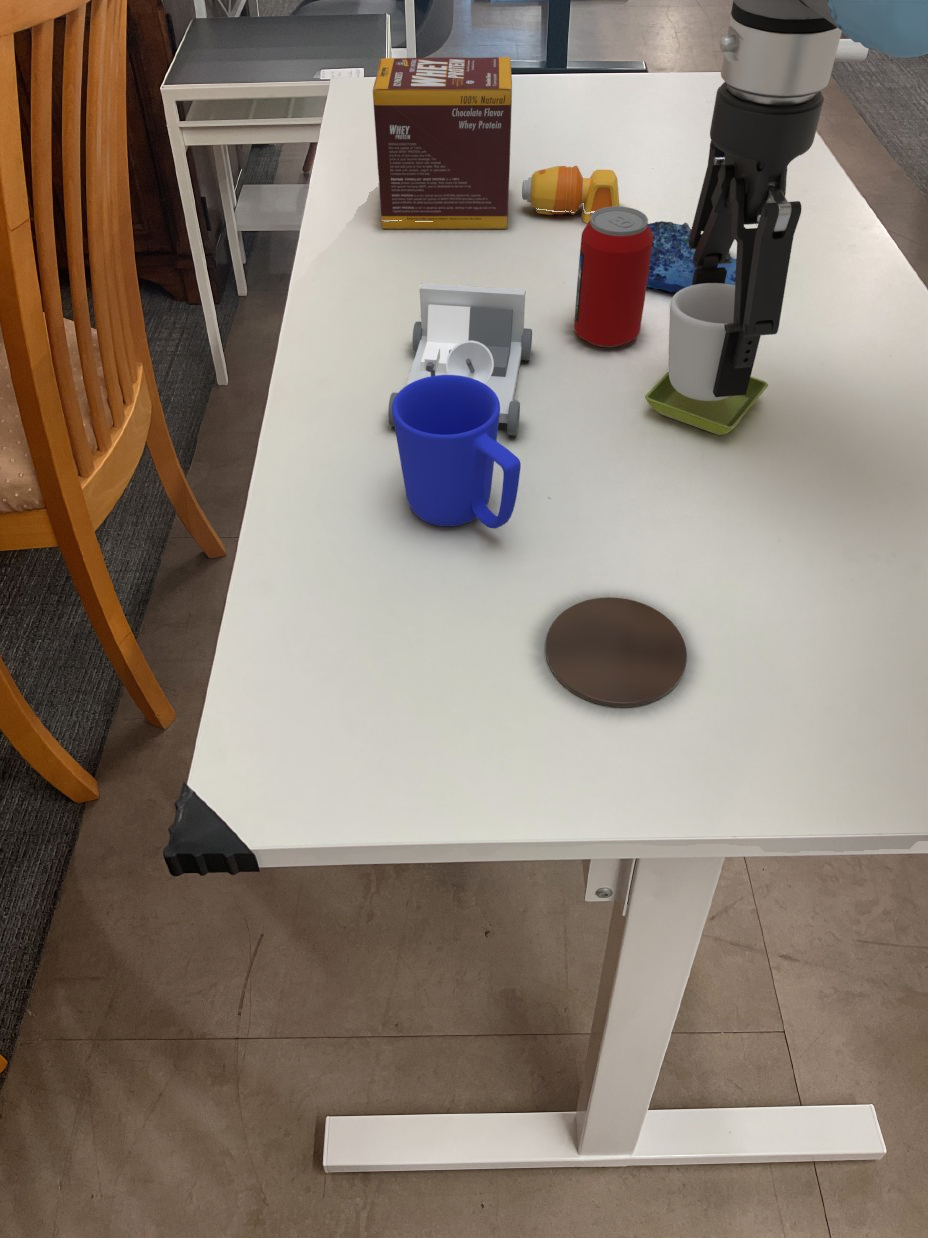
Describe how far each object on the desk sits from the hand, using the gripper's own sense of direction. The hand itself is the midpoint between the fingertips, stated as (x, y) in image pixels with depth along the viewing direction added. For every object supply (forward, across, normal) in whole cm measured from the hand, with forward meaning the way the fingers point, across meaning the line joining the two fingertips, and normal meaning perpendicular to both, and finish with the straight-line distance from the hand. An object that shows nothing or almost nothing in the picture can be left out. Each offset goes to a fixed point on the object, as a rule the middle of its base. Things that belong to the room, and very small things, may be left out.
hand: (713, 363), depth 84 cm
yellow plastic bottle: (+5, -42, -4) cm, 43 cm away
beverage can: (+5, -14, -6) cm, 16 cm away
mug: (+5, +12, -24) cm, 27 cm away
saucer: (+5, 0, 0) cm, 5 cm away
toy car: (+5, -5, -22) cm, 23 cm away
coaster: (+5, +28, -15) cm, 32 cm away
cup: (+2, 0, 0) cm, 2 cm away
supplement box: (+5, -45, -19) cm, 49 cm away
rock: (+5, -26, +6) cm, 27 cm away
